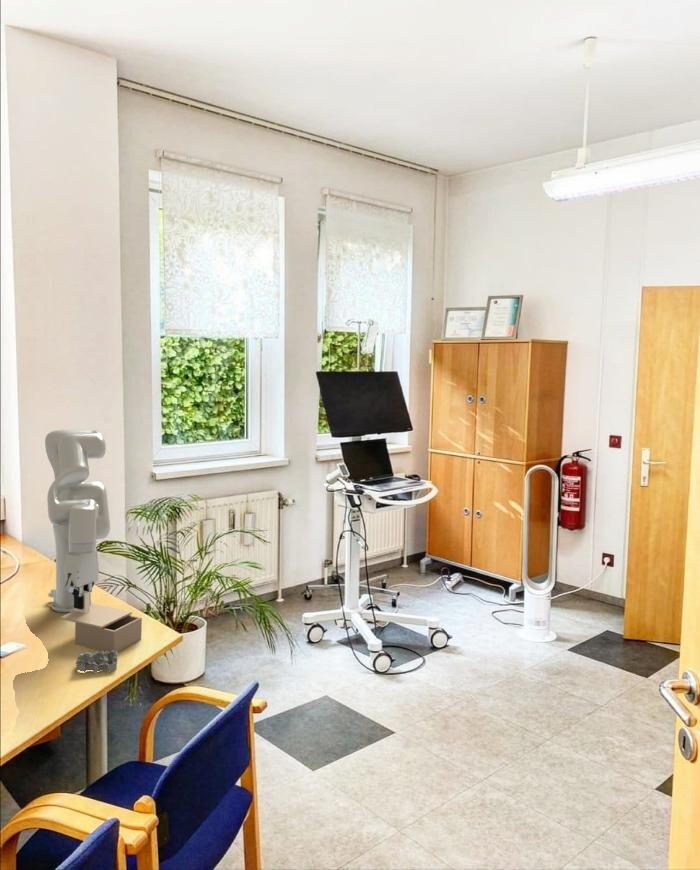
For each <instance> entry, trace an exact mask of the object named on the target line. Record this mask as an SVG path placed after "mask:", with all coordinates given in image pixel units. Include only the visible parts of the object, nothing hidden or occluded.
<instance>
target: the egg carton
mask: <svg viewBox="0 0 700 870" xmlns="http://www.w3.org/2000/svg"><path fill="white" fill-rule="evenodd" d="M118 654H119V652H118V651H117V649H116V650H114V651H110V652H108V651H106V652H104V651H94V652H92V651H91V652H90V651H83V652H81V653H80V654H78V655H77V658H76V662H75V665H76V671H77V670H80V671H84V672H85V671H86V670H93V671H94V672H97V671H100V670H106V671H105V672H107V671H108V673H110V672H109V671H112V672H113V671H116V670H117V667H118V665H117V664H118ZM109 662H111V663H110V664H109ZM97 663H98V664H97ZM94 672H93V673H94ZM100 672H101V671H100Z"/></svg>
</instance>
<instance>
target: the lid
mask: <svg viewBox="0 0 700 870" xmlns="http://www.w3.org/2000/svg"><path fill="white" fill-rule="evenodd" d="M82 596H84V608H83V609H77V608H74V611H73V612H68V613H67V614H64V615H61V616H60V620H64V621H68V622H70V623H71V622H72V623H80V624H84V625H88V626H93V627H97V628H101V629H102V628H104V627H106V626H108V625H110V624H112V623H114V622H116V621H118V620H120V619H122V618H125V617H127V616H129V615H131V616H132V615H133V612H132V611H129V610H124V609H119V608H114V607H112V606H111V607H110V606H107V605H106V606H105V605H101V604H97V603H92V604H90V600H91V593H90V592H88V591H83V590H82Z"/></svg>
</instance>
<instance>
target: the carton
mask: <svg viewBox="0 0 700 870" xmlns="http://www.w3.org/2000/svg"><path fill="white" fill-rule="evenodd" d="M142 621H143V620H142V617H140V616H135V615H132V614H131V615H129V616H127V617H125V618H122V619H120V620H118V621H116V622H114V623H112V624H110V625H108V626H106V627H104V628H102V629H101V628H97V627H93V626H88V625H84V624H80V623H76V622H74V625H75V626H74V627H75V628H74V629H75V630H74V631H75V632H74V635H75V636H74V643H75V644H74V645H76V646H78V647H85V648H88V649H92V650H95V651H99V652H101V651H104V652H106V651H108V652H110V651H114V650H116V649H117V651H119V652H120V650H121V651H122V650H124V649H126V648H128V647H130V646H132V645H133V644H136V643H137V642H139V641H141V640H142V631H143V630H142V629H143V628H142V627H143V626H142Z"/></svg>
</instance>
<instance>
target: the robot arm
mask: <svg viewBox="0 0 700 870" xmlns="http://www.w3.org/2000/svg"><path fill="white" fill-rule="evenodd" d="M44 440H45V441H44V444H45V446H44V447H45V452H46V456H47V460H48V461H49V464H50V465H51V468H52V471H53V474H54V481H52V483H51V485H50V487H49V489H48V492H47V497H46V498H47V499H46V501H47V502H46V503H47V512H48V518H49V519H48V520H49V522H50V523H51V524H52V529H53V536H54V543H55V545H54V546H55V589H54V588H53V589H51V590H50V592H49V593H48V594H47V595H48V597H49V598H53V601H52V602H51V603H50V608H51V607H52V608H53V609H54V610H55V612H59V613H71V612H73V611H74V608H77V609H83V608H84V596H82V590H83V591H88V592H90V594H91V593H92V591H93V588H94V586H95V584H97V583H98V581H99V572H100V570H99V569H100V568H99V557H98V550H97V540H98V541H99V540H104V539H106V538H107V537H109V535H110V530H111V523H110V522H111V521H110V512H109V511H110V510H109V502H108V501H109V500H108V492H107V489H106V486H105V485H104V484H103V483H102V482H101V481H97V480H96V481H92V480H90V481H86V480H87V479H88V478H89V477H90V469H89V468H90V467H89V466H90V465H89V460H91V459H92V460H95V459H97V460H98V459H102V458H104V456H105V455H106V452H107V448H106V445H107V444H106V440H105V438H104V436H103V434H102V433H101V432H100V431H98V430H96V429H58V430H53V431H50V432H49V433H47V434H46V436H45V438H44ZM90 604H92V600H91V599H90ZM53 609H52V610H53ZM54 610H53V611H54Z"/></svg>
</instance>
